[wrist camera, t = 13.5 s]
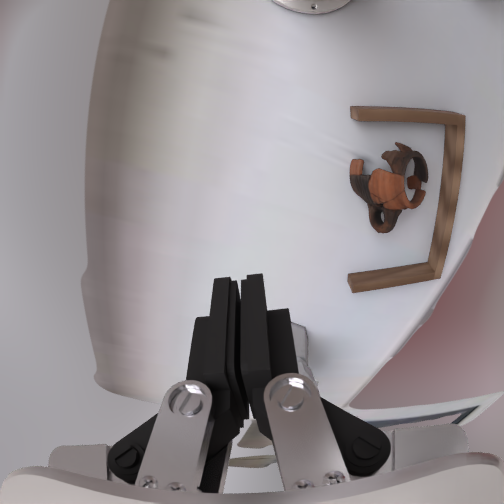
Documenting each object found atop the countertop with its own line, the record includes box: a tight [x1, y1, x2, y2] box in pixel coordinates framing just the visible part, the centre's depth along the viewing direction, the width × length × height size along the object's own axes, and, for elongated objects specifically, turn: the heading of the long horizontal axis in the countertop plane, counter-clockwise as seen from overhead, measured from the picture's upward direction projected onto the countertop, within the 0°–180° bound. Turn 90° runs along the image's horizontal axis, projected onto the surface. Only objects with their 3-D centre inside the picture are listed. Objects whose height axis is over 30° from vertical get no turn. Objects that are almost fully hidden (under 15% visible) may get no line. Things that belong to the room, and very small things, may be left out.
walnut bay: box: [348, 106, 465, 293], centre depth 38 cm, size 27×16×3 cm, turn 7°
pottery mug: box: [350, 142, 428, 233], centre depth 36 cm, size 12×10×8 cm
